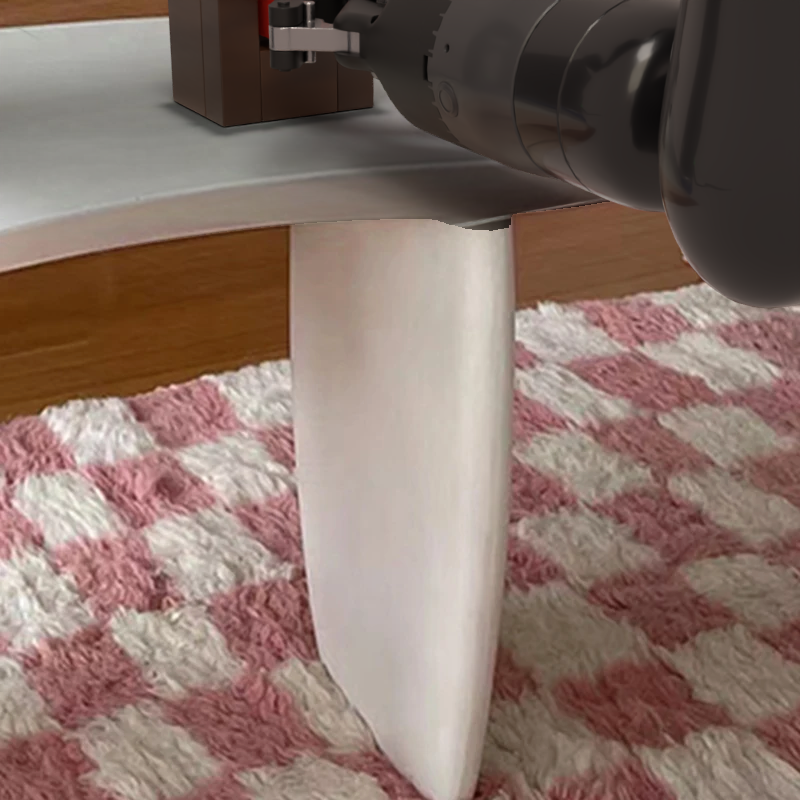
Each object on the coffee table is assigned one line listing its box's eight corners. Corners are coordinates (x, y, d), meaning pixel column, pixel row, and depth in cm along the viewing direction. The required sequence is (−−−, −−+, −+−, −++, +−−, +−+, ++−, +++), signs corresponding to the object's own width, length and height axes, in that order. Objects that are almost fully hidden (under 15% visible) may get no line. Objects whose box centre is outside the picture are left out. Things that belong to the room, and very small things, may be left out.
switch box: (223, 127, 75) (214, -74, 71) (172, 100, 79) (162, -90, 76) (374, 106, 78) (373, -86, 75) (317, 82, 83) (313, -100, 79)
